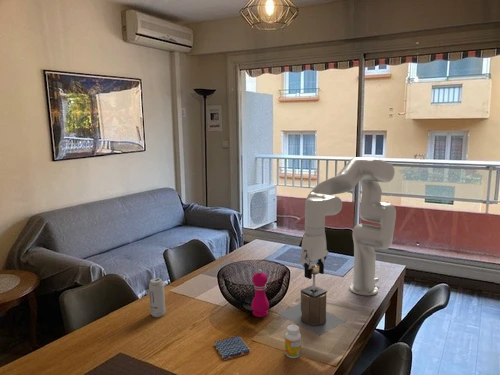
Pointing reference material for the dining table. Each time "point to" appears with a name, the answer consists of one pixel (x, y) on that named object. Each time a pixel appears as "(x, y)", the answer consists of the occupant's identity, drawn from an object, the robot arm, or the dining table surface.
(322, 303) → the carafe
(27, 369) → the dining table surface
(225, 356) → the woven mat
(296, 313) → the slate board
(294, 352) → the supplement bottle
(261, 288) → the pepper mill
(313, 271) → the plunger
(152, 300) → the energy drink can
